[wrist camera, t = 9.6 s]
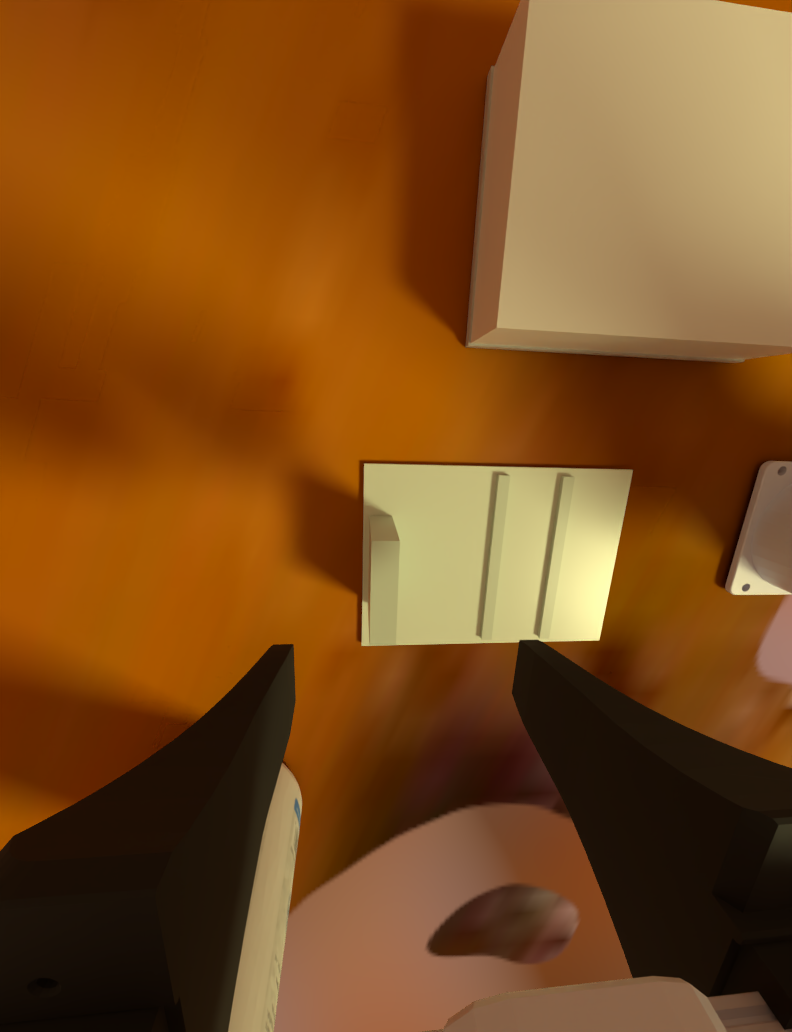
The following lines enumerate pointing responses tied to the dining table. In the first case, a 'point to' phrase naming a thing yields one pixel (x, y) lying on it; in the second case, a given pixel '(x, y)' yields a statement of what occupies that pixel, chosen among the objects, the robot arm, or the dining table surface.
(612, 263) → the block
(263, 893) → the supplement tub
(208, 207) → the dining table surface
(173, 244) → the dining table surface
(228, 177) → the dining table surface
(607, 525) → the lid
